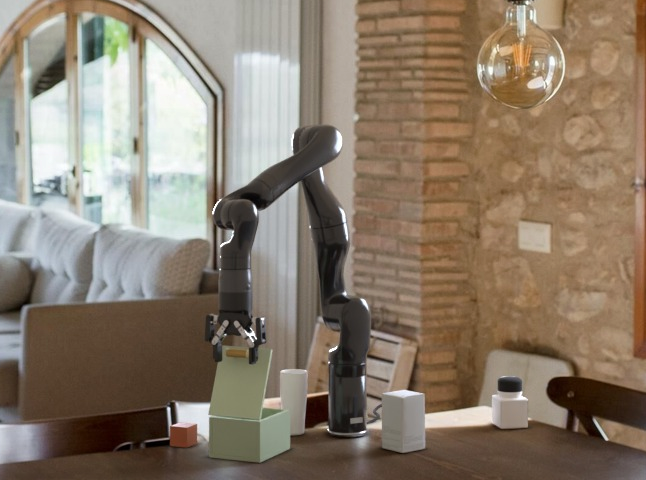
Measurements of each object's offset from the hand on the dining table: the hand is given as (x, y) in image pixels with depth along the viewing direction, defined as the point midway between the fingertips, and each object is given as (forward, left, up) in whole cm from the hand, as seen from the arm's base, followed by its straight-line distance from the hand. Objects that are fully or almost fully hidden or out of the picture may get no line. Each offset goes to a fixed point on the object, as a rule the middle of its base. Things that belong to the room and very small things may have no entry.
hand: (235, 362), depth 284 cm
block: (-8, -18, -21) cm, 29 cm away
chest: (-7, 0, -21) cm, 22 cm away
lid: (-3, 0, -5) cm, 6 cm away
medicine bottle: (-59, +45, -21) cm, 77 cm away
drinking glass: (-29, 0, -21) cm, 36 cm away
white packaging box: (-25, +30, -21) cm, 45 cm away
